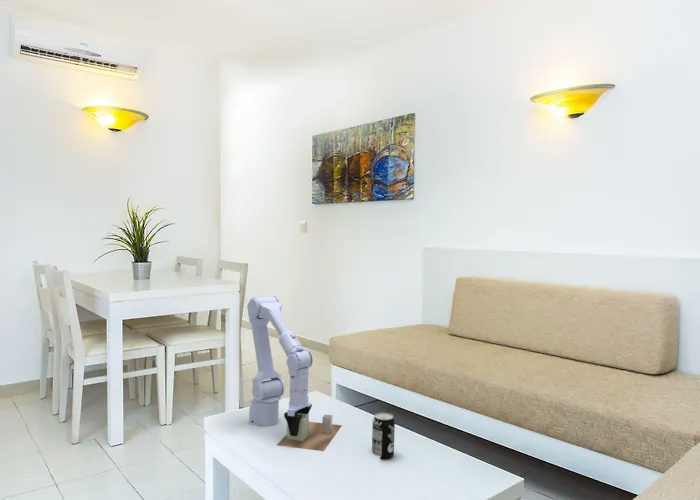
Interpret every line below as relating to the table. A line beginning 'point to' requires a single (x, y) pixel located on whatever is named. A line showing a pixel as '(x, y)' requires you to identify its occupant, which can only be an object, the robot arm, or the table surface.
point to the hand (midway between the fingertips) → (297, 431)
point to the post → (327, 424)
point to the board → (312, 438)
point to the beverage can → (383, 435)
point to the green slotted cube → (300, 429)
